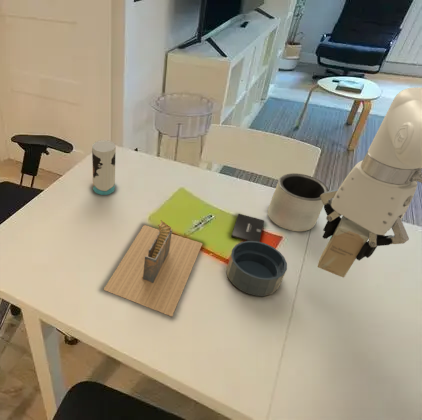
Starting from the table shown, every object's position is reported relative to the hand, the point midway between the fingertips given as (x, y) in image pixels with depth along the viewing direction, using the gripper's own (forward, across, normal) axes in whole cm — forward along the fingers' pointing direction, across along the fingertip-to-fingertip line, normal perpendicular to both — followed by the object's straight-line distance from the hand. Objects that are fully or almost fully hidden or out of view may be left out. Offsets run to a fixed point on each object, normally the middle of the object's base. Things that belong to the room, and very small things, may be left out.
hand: (344, 245), depth 72 cm
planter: (+17, +21, -20) cm, 34 cm away
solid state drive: (+17, +24, -6) cm, 30 cm away
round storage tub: (+17, +12, +6) cm, 22 cm away
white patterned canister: (+17, +61, +17) cm, 66 cm away
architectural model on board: (+17, +27, +23) cm, 40 cm away
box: (+6, 0, 0) cm, 6 cm away
